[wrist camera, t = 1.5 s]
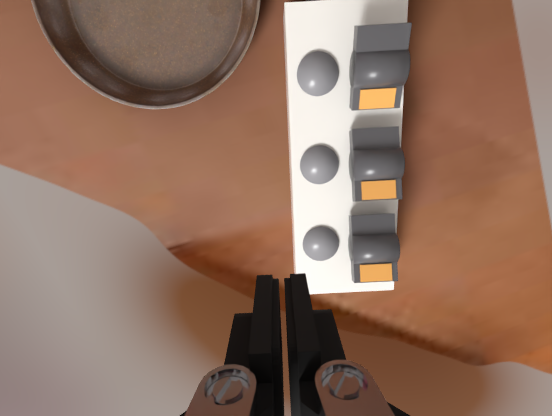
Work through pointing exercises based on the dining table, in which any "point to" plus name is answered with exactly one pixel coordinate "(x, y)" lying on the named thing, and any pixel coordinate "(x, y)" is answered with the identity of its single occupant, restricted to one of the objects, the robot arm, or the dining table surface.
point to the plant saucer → (149, 45)
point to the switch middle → (376, 164)
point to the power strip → (329, 134)
